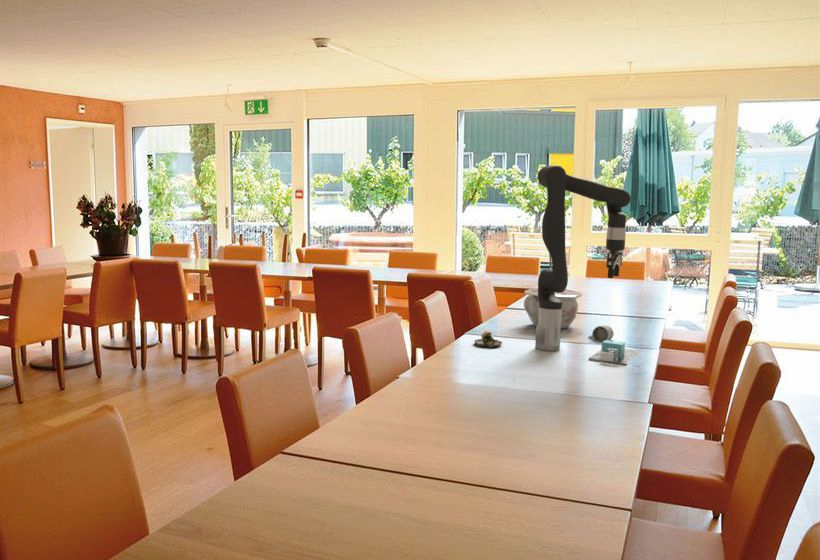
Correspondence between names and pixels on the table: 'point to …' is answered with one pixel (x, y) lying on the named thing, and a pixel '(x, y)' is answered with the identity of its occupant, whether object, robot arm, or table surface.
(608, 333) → the ceramic mug
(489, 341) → the mottled brown knobbed disc
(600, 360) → the base
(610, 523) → the table surface
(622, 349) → the block
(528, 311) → the chamber pot
